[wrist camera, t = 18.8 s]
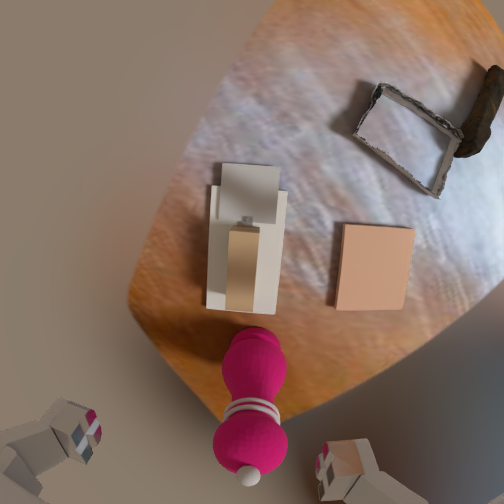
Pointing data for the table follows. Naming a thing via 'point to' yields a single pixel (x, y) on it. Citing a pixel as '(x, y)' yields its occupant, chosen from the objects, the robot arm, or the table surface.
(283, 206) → the pad
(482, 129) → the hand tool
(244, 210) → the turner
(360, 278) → the tile
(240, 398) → the pepper mill
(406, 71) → the table surface
